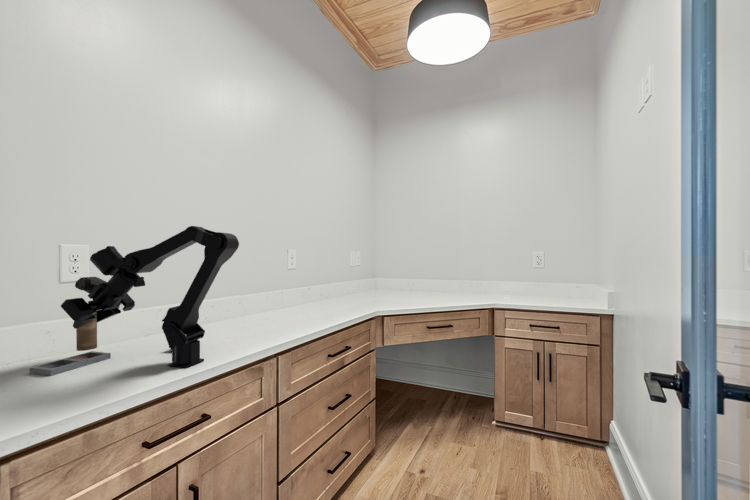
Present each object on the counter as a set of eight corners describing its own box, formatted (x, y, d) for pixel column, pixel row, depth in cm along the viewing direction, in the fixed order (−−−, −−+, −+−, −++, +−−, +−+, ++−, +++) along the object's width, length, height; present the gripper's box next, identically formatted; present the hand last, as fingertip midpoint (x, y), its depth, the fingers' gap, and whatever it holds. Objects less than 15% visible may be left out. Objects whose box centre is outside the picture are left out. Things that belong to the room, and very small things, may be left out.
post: (100, 347, 98) (100, 306, 99) (81, 351, 94) (80, 308, 95) (92, 345, 100) (92, 305, 101) (73, 349, 96) (73, 307, 97)
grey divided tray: (110, 358, 100) (110, 353, 100) (50, 375, 86) (50, 370, 86) (91, 356, 102) (91, 351, 102) (29, 373, 88) (29, 367, 88)
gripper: (126, 265, 107) (93, 301, 107) (67, 268, 88) (28, 311, 89) (149, 291, 106) (116, 326, 107) (95, 299, 87) (56, 341, 88)
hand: (82, 325), depth 98 cm, fingers closed on post, 4 cm apart
